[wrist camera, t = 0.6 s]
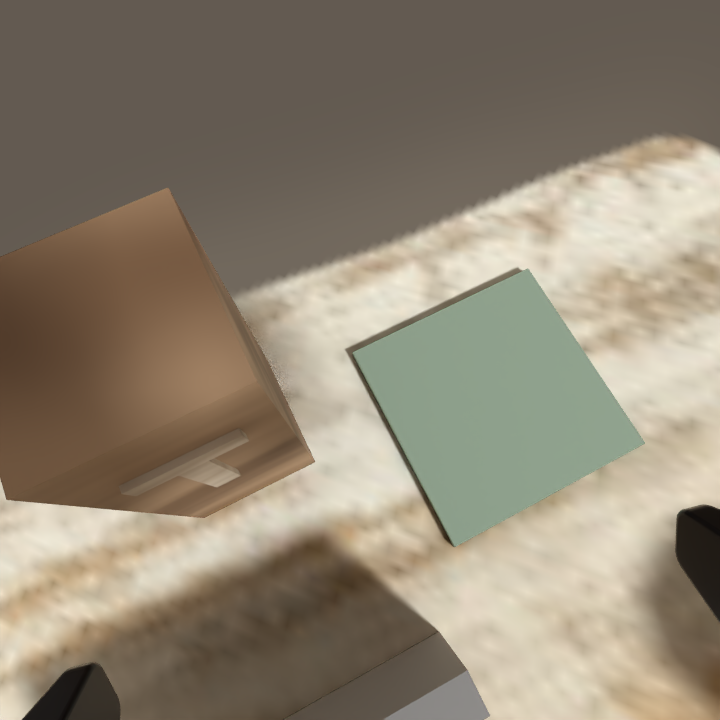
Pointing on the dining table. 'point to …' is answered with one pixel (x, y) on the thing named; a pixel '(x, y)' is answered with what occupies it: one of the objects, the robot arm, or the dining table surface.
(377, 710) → the gray rectangular block
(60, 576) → the dining table surface
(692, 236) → the dining table surface
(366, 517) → the dining table surface
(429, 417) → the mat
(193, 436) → the letter block
